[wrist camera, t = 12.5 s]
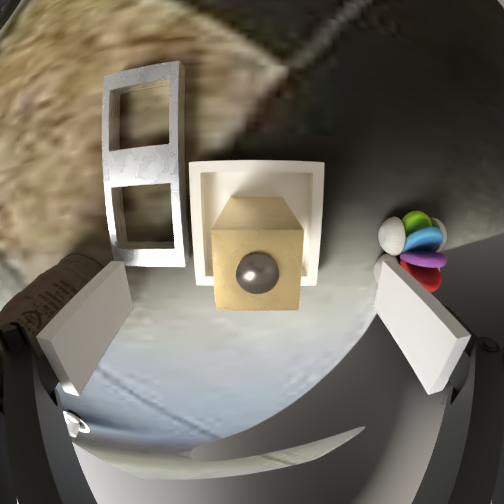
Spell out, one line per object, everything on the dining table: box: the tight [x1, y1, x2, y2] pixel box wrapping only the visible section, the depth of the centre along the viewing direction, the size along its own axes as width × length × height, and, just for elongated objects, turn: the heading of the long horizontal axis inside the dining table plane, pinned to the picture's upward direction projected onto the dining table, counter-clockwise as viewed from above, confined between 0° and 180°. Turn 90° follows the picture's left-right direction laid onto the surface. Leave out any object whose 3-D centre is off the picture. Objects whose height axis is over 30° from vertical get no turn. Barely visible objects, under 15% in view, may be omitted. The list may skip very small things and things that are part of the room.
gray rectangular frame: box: [102, 61, 190, 267], centre depth 24 cm, size 20×8×2 cm, turn 0°
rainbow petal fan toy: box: [374, 211, 447, 293], centre depth 25 cm, size 8×10×7 cm
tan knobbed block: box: [211, 197, 304, 311], centre depth 21 cm, size 5×5×12 cm
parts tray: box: [189, 160, 324, 286], centre depth 26 cm, size 12×12×2 cm
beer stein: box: [0, 255, 103, 350], centre depth 23 cm, size 15×10×20 cm
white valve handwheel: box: [63, 411, 90, 437], centre depth 42 cm, size 9×8×4 cm
